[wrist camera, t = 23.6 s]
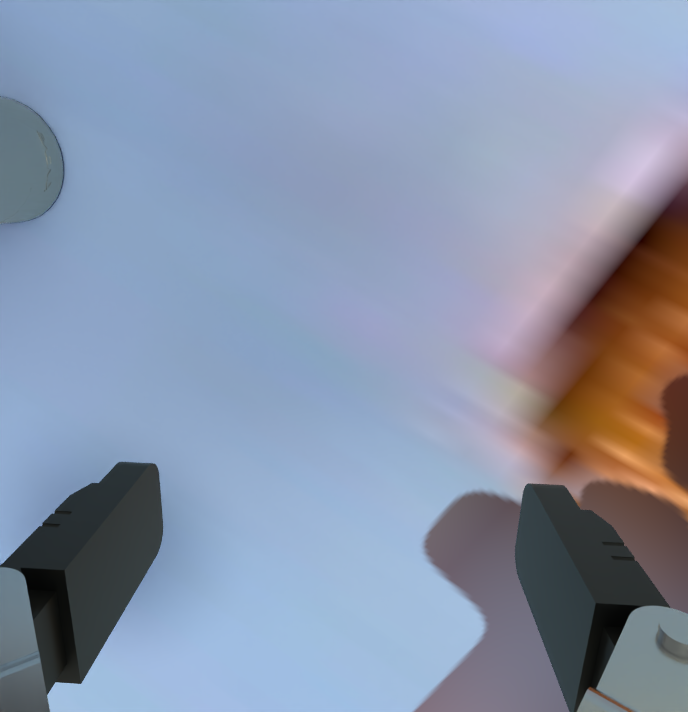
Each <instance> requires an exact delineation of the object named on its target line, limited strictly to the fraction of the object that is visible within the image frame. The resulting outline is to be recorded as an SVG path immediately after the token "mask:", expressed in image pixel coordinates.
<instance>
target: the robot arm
mask: <svg viewBox="0 0 688 712" xmlns="http://www.w3.org/2000/svg"><path fill="white" fill-rule="evenodd" d="M62 180H63V160H62V156H61V151H60V148H59V146H58V143H57V141H56V138H55V136H54V135H53V133H52V132H51V130H50V128H49V127H48V125H47V124H46V123H45V122H44V121H43V120H42V119H41V117H40V116H39V115H38V114H37V113H35V112H34V111H33V110H31V109H30V108H28V107H27V106H26V105H24V104H21V103H19V102H17V101H15V100H13V99H9V98H5V97H1V96H0V224H5V223H16V222H23V221H29V220H32V219H34V218H36V217H38V216H41V215H42V214H43V213H44V212H46V211H47V210H48V209H49V208H50V207H51V206H52V204H53V203H54V202H55V200H56V199H57V196H58V194H59V192H60V190H61V186H62ZM162 535H163V519H162V506H161V493H160V481H159V471H158V468H157V466H156V465H155V464H153V463H134V462H119V463H117V464H116V465H115V466H114V468H113V469H112V470H111V471H110V472H109V473H108V474H107V475H106V476H105V477H104V478H103V479H102V480H101V481H100V483H91V484H90V485H88V486H86V487H84V488H82V489H81V490H79V491H77V492H75V493H74V494H72V495H70V496H69V497H68V498H67V499H66V500H65V501H64V502H63V503H62V504H61V505H60V506H59V507H58V508H57V509H56V510H55V513H54V514H51V515H50V516H49V517H48V518H47V519H46V520H45V521H44V522H43V525H42V527H41V526H39V527H38V528H37V529H36V530H35V531H34V532H33V533H32V534H31V535H30V536H29V537H28V538H27V539H26V540H25V541H24V542H23V543H22V544H21V545H20V546H19V548H18V549H17V550H16V551H15V552H14V553H13V554H12V555H11V556H10V557H9V558H8V559H7V560H6V561H5V562H4V563H3V564H2V565H1V566H0V712H50V710H49V704H48V699H47V694H48V693H49V691H50V690H51V688H52V687H53V685H54V683H55V682H62V683H77V684H81V683H82V681H83V680H84V678H85V676H86V675H87V673H88V671H89V669H90V668H91V666H92V664H93V663H94V661H95V659H96V658H97V656H98V654H99V652H100V651H101V649H102V647H103V646H104V644H105V642H106V641H107V639H108V637H109V635H110V634H111V632H112V630H113V629H114V627H115V625H116V624H117V622H118V620H119V618H120V617H121V615H122V613H123V612H124V610H125V608H126V607H127V605H128V603H129V602H130V600H131V598H132V596H133V595H134V593H135V591H136V590H137V588H138V586H139V585H140V583H141V581H142V579H143V578H144V576H145V574H146V573H147V571H148V569H149V568H150V566H151V564H152V562H153V561H154V559H155V557H156V556H157V554H158V551H159V548H160V545H161V541H162ZM515 560H516V569H517V574H518V577H519V580H520V583H521V585H522V587H523V590H524V593H525V595H526V598H527V601H528V603H529V606H530V609H531V612H532V614H533V617H534V619H535V622H536V625H537V627H538V630H539V633H540V635H541V638H542V640H543V643H544V646H545V648H546V651H547V654H548V656H549V659H550V662H551V664H552V667H553V669H554V672H555V674H556V677H557V680H558V683H559V685H560V688H561V690H562V693H563V696H564V698H565V701H566V704H567V706H568V709H569V711H570V712H688V614H686V613H684V612H681V611H678V610H675V609H672V608H670V606H669V605H668V603H667V602H666V601H665V599H664V598H663V597H662V595H661V594H660V592H659V591H658V590H657V588H656V587H655V585H654V584H653V583H652V581H651V580H650V578H649V577H648V576H647V574H646V573H645V571H644V570H643V569H642V567H641V566H640V565H639V563H638V562H637V561H635V560H634V556H633V555H632V553H631V552H630V551H629V549H628V548H627V547H626V546H624V542H623V541H622V539H621V538H620V537H619V535H618V534H617V532H616V531H615V530H614V528H613V527H612V526H611V525H610V524H608V523H607V522H606V521H605V520H603V519H602V518H601V517H599V516H598V515H597V514H595V513H594V512H593V511H591V510H581V509H580V508H579V506H578V505H577V503H576V502H575V500H574V499H573V497H572V496H571V494H570V493H569V491H568V490H567V488H566V487H565V486H563V485H548V484H527V485H526V486H525V488H524V492H523V497H522V504H521V512H520V519H519V525H518V532H517V539H516V546H515Z"/></svg>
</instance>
